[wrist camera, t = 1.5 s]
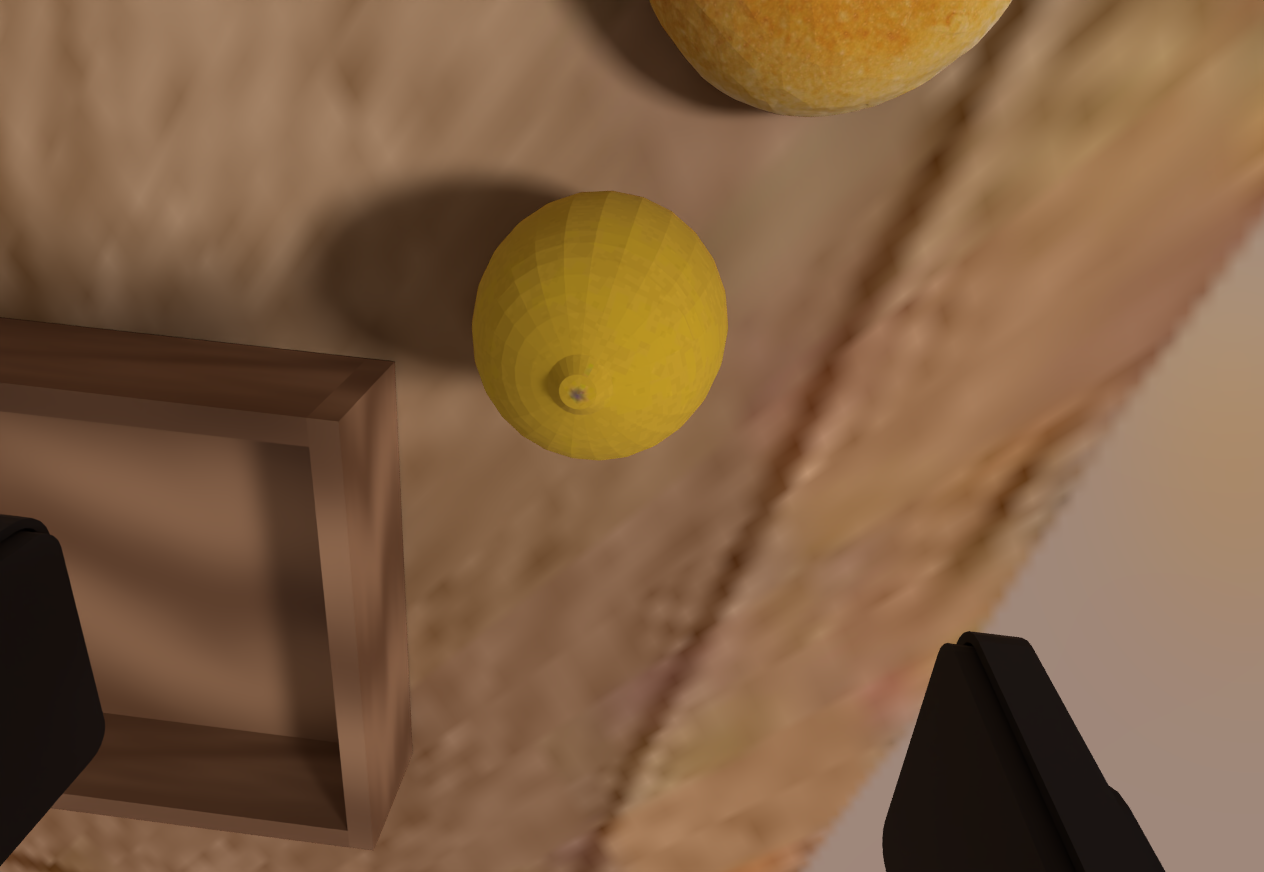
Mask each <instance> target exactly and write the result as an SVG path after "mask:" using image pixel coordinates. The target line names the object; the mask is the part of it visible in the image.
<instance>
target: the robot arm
mask: <svg viewBox="0 0 1264 872" xmlns="http://www.w3.org/2000/svg"><path fill="white" fill-rule="evenodd" d="M104 734H105V719H104V715H103V711H102V707H101V703H100V699H99V695H98V691H97V687H96V683H95V679H94V675H93V671H92V667H91V663H90V659H89V655H88V651H87V647H86V643H85V639H84V635H83V631H82V627H81V623H80V619H79V615H78V611H77V607H76V603H75V599H74V595H73V591H72V587H71V583H70V579H69V575H68V571H67V567H66V563H65V559H64V555H63V551H62V547H61V545H60V543H59V540H58V539H57V538H55V537H54V536H53V535H50V534H49V531H48V529H47V527H46V526H45V525H44V524H43V523H42V522H41V521H39V520H36V519H34V518H29V517H20V516H12V515H4V514H0V866H1V865H2V864H3V862H4V861H5V860H6V859H7V858H8V857H9V855H10V854H11V853H12V852H13V851H14V850H15V849H16V847H17V846H18V845H19V844H20V843H21V842H22V840H23V839H24V838H25V837H26V836H27V835H28V833H29V832H30V831H31V830H32V829H33V828H34V827H35V825H36V824H37V823H38V822H39V821H40V820H41V818H42V817H43V816H44V815H45V814H46V813H47V811H48V810H49V809H50V808H51V807H52V806H53V805H54V803H55V802H56V801H57V800H58V799H59V798H60V796H61V795H62V794H63V793H64V792H65V791H66V789H67V788H68V787H69V786H70V785H71V784H72V782H73V781H74V780H75V779H76V778H77V777H78V776H79V774H80V773H81V772H82V771H83V770H84V769H85V767H86V766H87V765H88V764H89V763H90V762H91V760H92V759H93V758H94V756H95V755H96V754H97V752H98V750H99V748H100V746H101V744H102V741H103V738H104ZM882 846H883V858H884V864H885V868H886V872H1165V870H1164V868H1163V867H1162V865H1161V863H1160V861H1159V860H1158V858H1157V856H1156V854H1155V853H1154V851H1153V849H1152V847H1151V845H1150V844H1149V842H1148V840H1147V838H1146V836H1145V835H1144V833H1143V831H1142V829H1141V828H1140V826H1139V824H1138V822H1137V820H1136V819H1135V817H1134V815H1133V813H1132V811H1131V810H1130V808H1129V806H1128V805H1127V804H1126V802H1125V801H1124V800H1123V798H1122V797H1121V795H1120V794H1119V793H1118V792H1117V791H1116V790H1114V789H1113V788H1112V787H1110V786H1109V785H1108V784H1107V782H1106V780H1105V778H1104V777H1103V775H1102V773H1101V771H1100V769H1099V767H1098V765H1097V764H1096V762H1095V760H1094V758H1093V756H1092V755H1091V753H1090V751H1089V749H1088V747H1087V745H1086V744H1085V742H1084V740H1083V738H1082V736H1081V735H1080V733H1079V731H1078V729H1077V727H1076V726H1075V724H1074V722H1073V720H1072V718H1071V716H1070V715H1069V713H1068V711H1067V709H1066V707H1065V705H1064V704H1063V702H1062V700H1061V698H1060V696H1059V695H1058V693H1057V691H1056V689H1055V687H1054V686H1053V684H1052V682H1051V680H1050V678H1049V676H1048V675H1047V673H1046V671H1045V669H1044V667H1043V666H1042V664H1041V662H1040V660H1039V658H1038V656H1037V655H1036V653H1035V651H1034V649H1033V648H1032V646H1031V645H1030V643H1029V642H1028V641H1027V640H1025V639H1023V638H1019V637H1012V636H1003V635H995V634H987V633H979V632H970V631H968V632H965V633H963V634H962V635H961V637H960V638H959V640H958V642H957V644H950V643H946V644H944V645H943V646H942V647H941V648H940V650H939V653H938V655H937V659H936V662H935V665H934V668H933V671H932V674H931V678H930V681H929V684H928V687H927V690H926V693H925V697H924V700H923V703H922V706H921V709H920V712H919V715H918V719H917V722H916V725H915V728H914V731H913V734H912V738H911V741H910V744H909V747H908V750H907V754H906V757H905V760H904V763H903V766H902V770H901V772H900V776H899V779H898V782H897V785H896V788H895V792H894V795H893V798H892V801H891V804H890V807H889V810H888V813H887V817H886V820H885V824H884V828H883V843H882Z"/></svg>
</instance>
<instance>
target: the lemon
mask: <svg viewBox="0 0 1264 872" xmlns="http://www.w3.org/2000/svg"><path fill="white" fill-rule="evenodd" d="M727 331H728V320H727V307H726V295H725V290H724V287H723V284H722V281H721V278H720V276H719V273H718V270H717V267H716V264H715V262H714V260H713V258H712V256H711V255H710V253H709V252H708V250H707V249H706V247H705V246H704V244H703V243H702V242H701V240H700V239H699V237H698V236H697V234H696V233H695V232H694V231H693V230H692V229H691V228H690V227H689V226H687V225H686V224H685V223H684V222H683V221H682V220H681V219H680V218H678V217H677V216H676V215H675V214H674V213H673V212H672V211H670V210H668V209H666V208H664V207H662V206H660V205H658V204H656V203H654V202H652V201H650V200H648V199H646V198H644V197H640V196H635V195H630V194H625V193H620V192H616V191H599V192H580V193H577V194H574V195H571V196H568V197H565V198H562V199H559V200H556V201H553V202H550V203H548V204H546V205H545V206H543V207H542V208H540V209H539V210H537V211H536V212H534V213H533V214H531V215H530V216H528V217H527V218H525V219H524V220H522V221H521V222H520V223H518V224H517V225H516V227H515V228H514V229H513V230H512V231H511V232H510V233H509V235H508V236H507V237H506V238H505V239H504V240H503V241H502V243H501V244H500V245H499V246H498V247H497V249H496V250H495V251H494V253H493V255H492V257H491V259H490V262H489V264H488V266H487V268H486V270H485V272H484V274H483V276H482V279H481V281H480V283H479V286H478V290H477V296H476V302H475V307H474V313H473V319H472V335H473V347H474V358H475V363H476V366H477V369H478V372H479V375H480V377H481V380H482V383H483V386H484V389H485V391H486V393H487V395H488V396H489V398H490V399H491V401H492V402H493V404H494V405H495V407H496V408H497V410H498V411H499V413H500V414H501V416H502V417H503V418H504V419H505V420H506V421H507V422H508V423H509V424H511V425H512V426H513V427H514V428H515V429H516V430H517V431H518V432H519V433H520V434H521V435H522V436H524V437H526V438H527V439H529V440H531V441H532V442H534V443H536V444H537V445H539V446H541V447H542V448H544V449H546V450H549V451H552V452H555V453H558V454H561V455H565V456H568V457H571V458H578V459H589V460H607V459H614V458H622V457H627V456H630V455H632V454H635V453H638V452H640V451H643V450H645V449H648V448H651V447H653V446H655V445H657V444H658V443H660V442H661V441H662V440H664V439H665V438H667V437H668V436H670V435H671V434H672V433H674V432H675V431H677V430H678V429H679V428H680V427H681V426H682V425H683V424H684V423H685V422H686V421H687V420H688V419H689V417H690V416H691V415H692V414H693V413H694V412H695V410H696V409H697V408H698V407H699V406H700V405H701V403H702V402H703V401H704V399H705V398H706V396H707V394H708V391H709V389H710V387H711V385H712V383H713V381H714V379H715V377H716V375H717V373H718V370H719V368H720V366H721V363H722V358H723V353H724V347H725V342H726V337H727Z"/></svg>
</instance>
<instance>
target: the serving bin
mask: <svg viewBox="0 0 1264 872" xmlns="http://www.w3.org/2000/svg"><path fill="white" fill-rule="evenodd" d="M0 514H4V515H12V516H20V517H29V518H34V519H36V520H39V521H41V522H42V523H43V524H44V525H45V526H46V527H47V529H48V531H49V534H50V535H53V536H54V537H55V538H57V539H58V540H59V543H60V545H61V547H62V551H63V555H64V559H65V563H66V567H67V571H68V575H69V579H70V583H71V587H72V591H73V595H74V599H75V603H76V607H77V611H78V615H79V619H80V623H81V627H82V631H83V635H84V639H85V643H86V647H87V651H88V655H89V659H90V663H91V667H92V671H93V675H94V679H95V683H96V687H97V691H98V695H99V699H100V703H101V707H102V711H103V715H104V719H105V734H104V738H103V741H102V744H101V746H100V748H99V750H98V752H97V754H96V755H95V756H94V758H93V759H92V760H91V762H90V763H89V764H88V765H87V766H86V767H85V769H84V770H83V771H82V772H81V773H80V774H79V776H78V777H77V778H76V779H75V780H74V781H73V782H72V784H71V785H70V786H69V787H68V788H67V789H66V791H65V792H64V793H63V794H62V795H61V796H60V798H59V799H58V800H57V801H56V802H55V803H54V805H53V806H52V807H51V808H53V809H61V810H69V811H76V812H84V813H91V814H99V815H106V816H114V817H122V818H129V819H137V820H144V821H152V822H160V823H167V824H175V825H182V826H190V827H198V828H205V829H213V830H220V831H228V832H236V833H243V834H251V835H258V836H266V837H274V838H281V839H289V840H296V841H304V842H311V843H319V844H327V845H334V846H342V847H349V848H357V849H365V850H372V851H374V848H375V846H376V843H377V841H378V838H379V836H380V833H381V831H382V828H383V826H384V824H385V821H386V819H387V816H388V814H389V811H390V809H391V806H392V804H393V801H394V799H395V796H396V794H397V791H398V789H399V786H400V784H401V781H402V779H403V776H404V774H405V772H406V769H407V767H408V764H409V762H410V759H411V757H412V732H411V710H410V688H409V666H408V644H407V623H406V601H405V579H404V557H403V535H402V513H401V491H400V470H399V448H398V426H397V404H396V382H395V362H392V361H383V360H374V359H365V358H356V357H347V356H338V355H329V354H320V353H312V352H303V351H294V350H285V349H276V348H267V347H258V346H249V345H240V344H231V343H222V342H213V341H204V340H195V339H186V338H177V337H169V336H160V335H151V334H142V333H133V332H124V331H115V330H106V329H97V328H88V327H79V326H70V325H61V324H52V323H43V322H35V321H26V320H17V319H8V318H0Z"/></svg>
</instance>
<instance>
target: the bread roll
mask: <svg viewBox="0 0 1264 872" xmlns="http://www.w3.org/2000/svg"><path fill="white" fill-rule="evenodd" d="M649 1H650V4H651V6H652V8H653V10H654V12H655V14H656V16H657V18H658V20H659V22H660V24H661V25H662V27H663V28H664V29H665V31H666V32H667V34H668V35H669V36H670V38H671V39H672V41H673V42H674V43H675V45H676V46H677V47H678V49H679V50H680V52H681V53H682V54H683V56H684V57H685V58H686V59H687V61H688V62H689V63H690V64H691V65H692V66H693V67H694V69H695V70H696V71H697V72H698V73H699V74H700V75H701V77H702V78H704V79H705V80H706V81H707V82H709V83H710V84H711V85H713V86H714V87H715V88H717V89H718V90H720V91H721V92H723V93H725V94H726V95H728V96H730V97H731V98H733V99H735V100H738V101H741V102H743V103H746V104H748V105H751V106H753V107H755V108H758V109H762V110H765V111H768V112H772V113H775V114H779V115H789V116H802V117H819V116H831V115H837V114H843V113H849V112H854V111H858V110H862V109H865V108H869V107H873V106H877V105H879V104H882V103H884V102H886V101H889V100H891V99H893V98H896V97H898V96H900V95H902V94H904V93H906V92H908V91H911V90H913V89H915V88H917V87H919V86H920V85H922V84H924V83H925V82H927V81H928V80H930V79H931V78H933V77H934V76H935V75H937V74H938V73H939V72H941V71H942V70H943V69H945V68H946V67H947V66H948V65H950V64H951V63H952V62H954V61H955V60H956V59H957V58H958V57H960V56H962V55H963V54H965V53H966V52H967V51H969V50H970V49H971V48H973V47H974V46H975V45H976V44H977V43H978V42H979V41H980V40H981V39H982V38H983V36H984V35H985V34H986V33H987V32H988V31H989V30H990V29H991V28H992V26H993V25H994V24H995V23H996V22H997V21H998V19H999V18H1000V17H1001V15H1002V14H1003V13H1004V11H1005V10H1006V9H1007V7H1008V6H1009V4H1010V3H1011V1H1012V0H649Z"/></svg>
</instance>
